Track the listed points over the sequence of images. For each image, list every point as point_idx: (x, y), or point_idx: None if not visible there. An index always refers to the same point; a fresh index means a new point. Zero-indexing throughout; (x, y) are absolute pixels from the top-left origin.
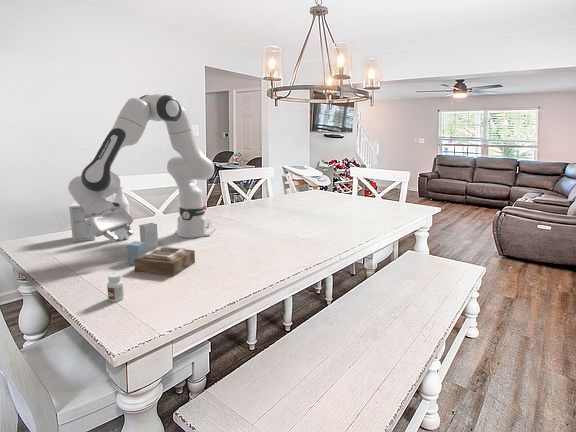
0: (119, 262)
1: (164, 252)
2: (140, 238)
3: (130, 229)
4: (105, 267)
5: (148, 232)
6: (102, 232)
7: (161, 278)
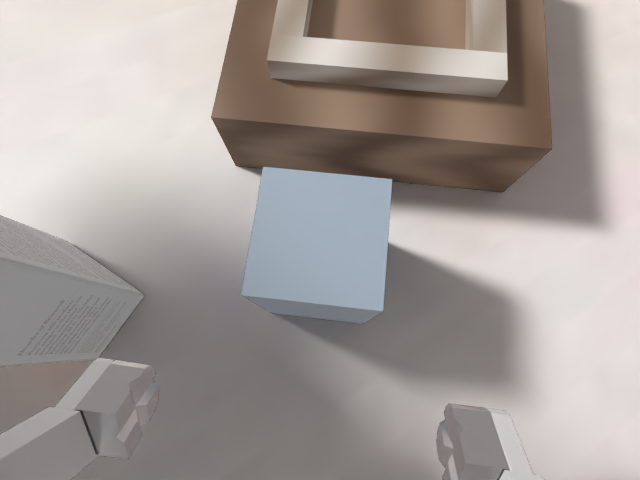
0: (368, 391)
1: (348, 21)
2: (7, 362)
3: (60, 411)
4: None
5: None
6: None
7: None
